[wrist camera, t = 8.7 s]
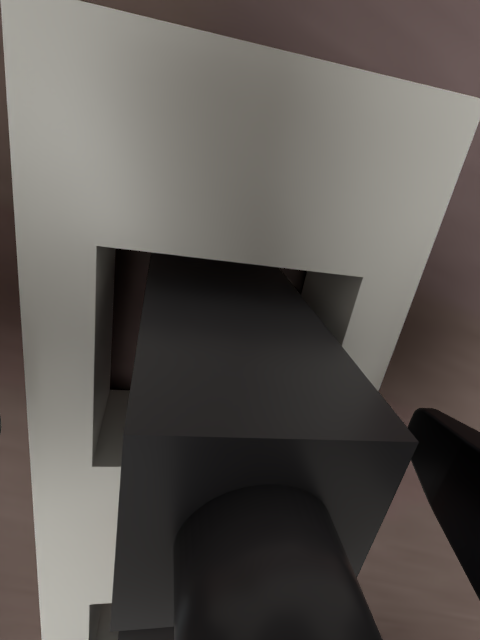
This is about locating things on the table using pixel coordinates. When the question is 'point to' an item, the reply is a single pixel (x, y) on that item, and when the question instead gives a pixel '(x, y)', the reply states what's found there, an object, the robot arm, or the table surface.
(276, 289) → the plug
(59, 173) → the power strip
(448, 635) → the table surface
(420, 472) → the robot arm
